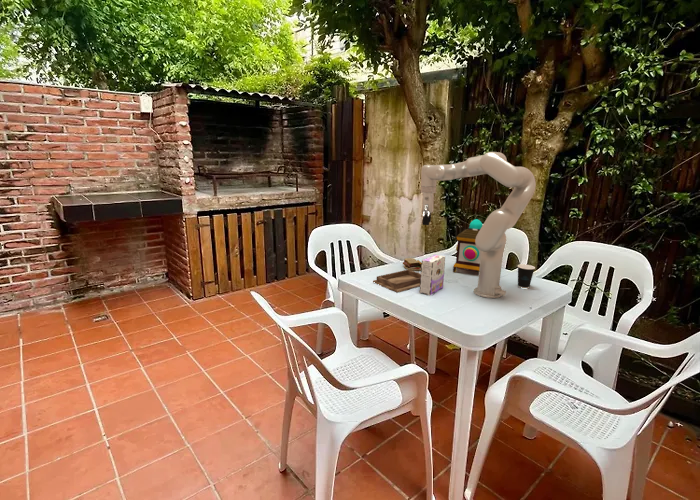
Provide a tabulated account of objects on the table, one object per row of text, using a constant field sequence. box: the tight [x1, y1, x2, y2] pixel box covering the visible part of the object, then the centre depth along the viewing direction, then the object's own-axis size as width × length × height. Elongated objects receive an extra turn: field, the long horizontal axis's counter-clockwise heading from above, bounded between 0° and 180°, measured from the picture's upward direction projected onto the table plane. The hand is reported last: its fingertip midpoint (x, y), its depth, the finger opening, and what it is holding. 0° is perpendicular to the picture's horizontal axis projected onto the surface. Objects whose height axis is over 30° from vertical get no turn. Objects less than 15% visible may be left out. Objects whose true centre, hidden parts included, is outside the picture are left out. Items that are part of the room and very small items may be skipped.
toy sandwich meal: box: [402, 257, 422, 272], centre depth 215 cm, size 12×14×5 cm
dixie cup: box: [517, 263, 536, 288], centre depth 184 cm, size 8×8×11 cm
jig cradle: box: [372, 269, 421, 294], centre depth 188 cm, size 18×24×4 cm
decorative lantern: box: [452, 218, 484, 273], centre depth 208 cm, size 20×20×30 cm
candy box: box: [419, 254, 446, 296], centre depth 177 cm, size 14×6×16 cm, turn 141°
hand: (426, 223), depth 191 cm, fingers open, 9 cm apart
